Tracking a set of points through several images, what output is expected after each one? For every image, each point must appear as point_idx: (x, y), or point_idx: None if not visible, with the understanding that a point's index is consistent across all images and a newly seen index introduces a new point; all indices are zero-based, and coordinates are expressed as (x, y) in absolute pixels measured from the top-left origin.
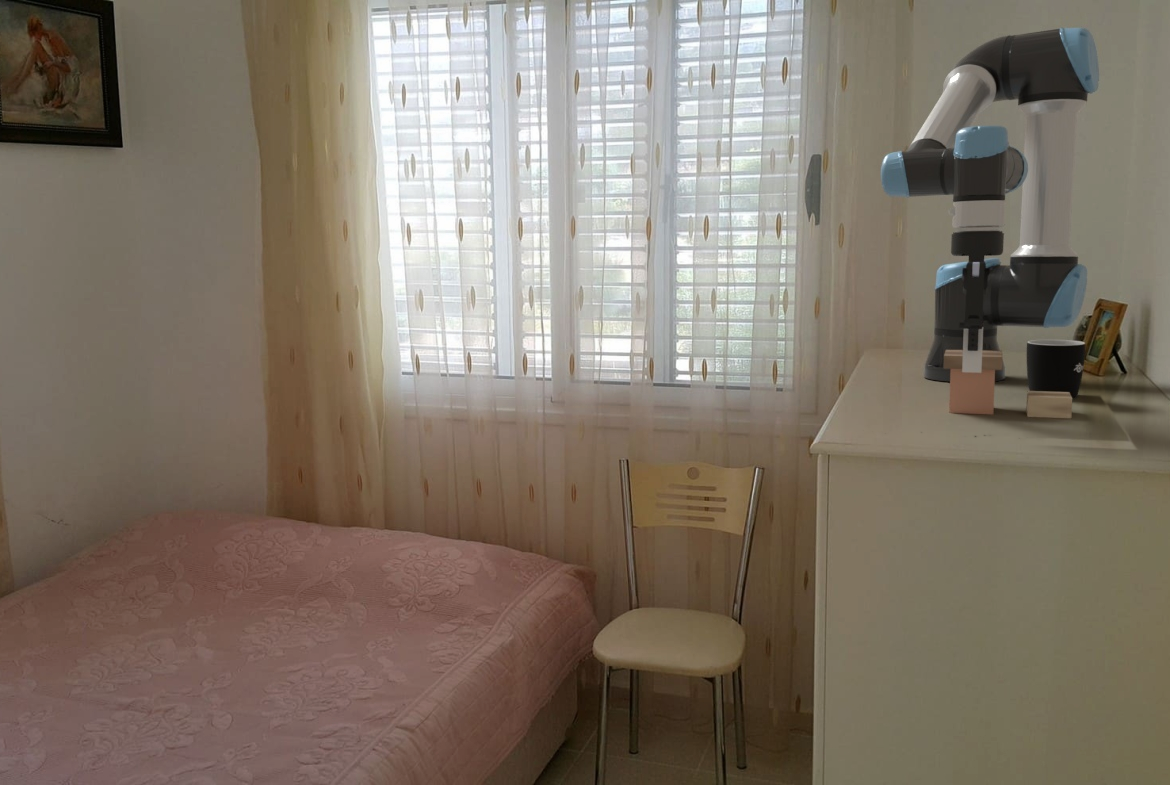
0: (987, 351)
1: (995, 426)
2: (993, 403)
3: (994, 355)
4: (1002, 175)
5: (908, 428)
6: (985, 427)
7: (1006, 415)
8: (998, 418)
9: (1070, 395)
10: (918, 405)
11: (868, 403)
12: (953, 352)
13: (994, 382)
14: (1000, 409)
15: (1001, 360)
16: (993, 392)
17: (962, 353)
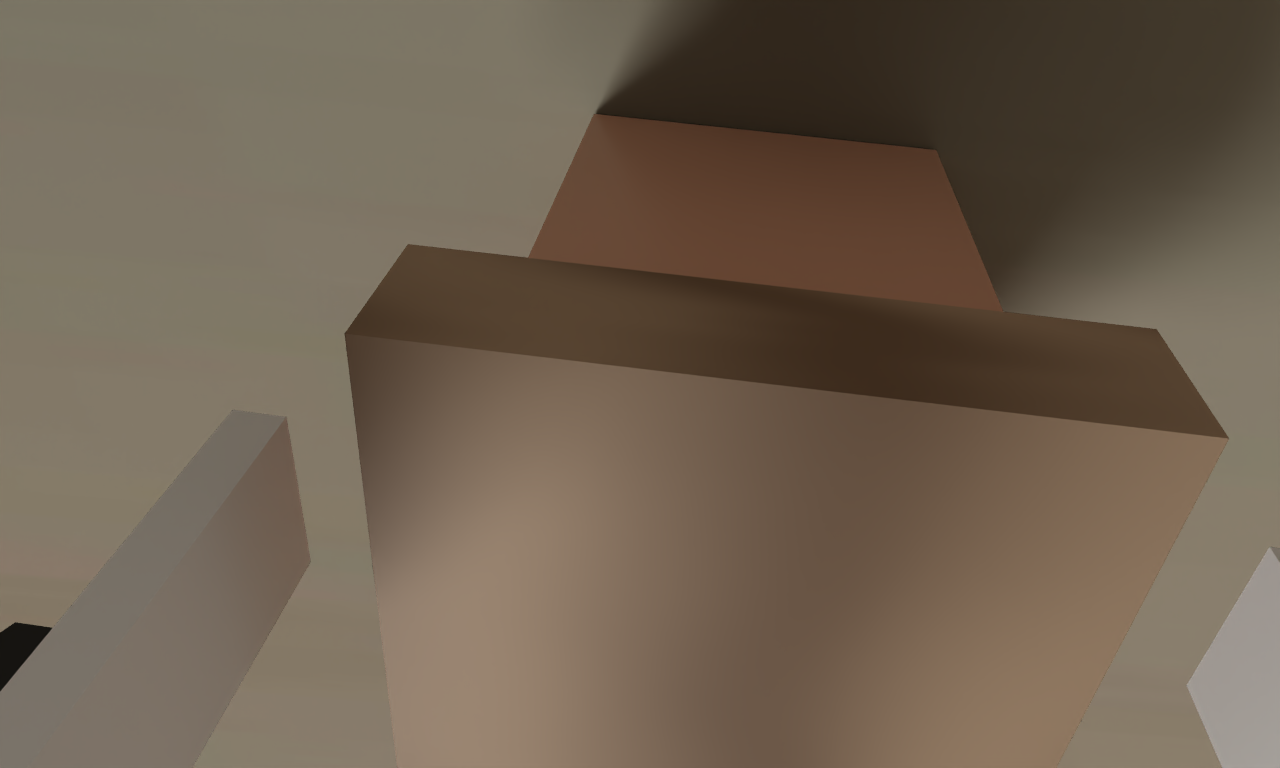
0: (500, 518)
1: (1205, 160)
2: (959, 209)
3: (1016, 509)
4: None
5: (1205, 643)
6: (1239, 237)
7: (659, 8)
8: (820, 93)
9: None
10: (366, 531)
11: (384, 726)
12: None
13: (999, 305)
14: (355, 25)
15: (1203, 417)
16: (974, 259)
17: (764, 762)
